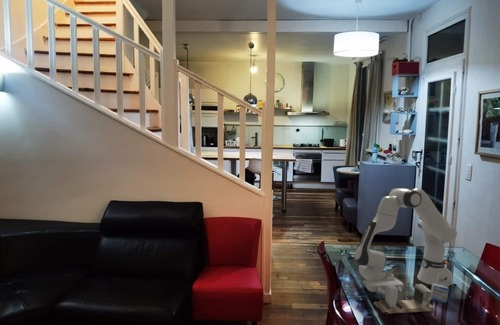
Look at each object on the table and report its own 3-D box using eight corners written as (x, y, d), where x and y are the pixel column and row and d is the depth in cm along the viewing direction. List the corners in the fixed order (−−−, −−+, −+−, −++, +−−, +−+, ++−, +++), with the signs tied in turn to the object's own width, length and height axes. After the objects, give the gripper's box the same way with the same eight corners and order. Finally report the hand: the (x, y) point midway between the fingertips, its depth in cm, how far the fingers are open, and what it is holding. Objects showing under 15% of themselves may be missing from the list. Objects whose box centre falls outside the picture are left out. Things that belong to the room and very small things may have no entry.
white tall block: (391, 302, 192) (394, 285, 191) (396, 307, 188) (399, 289, 187) (384, 303, 191) (387, 285, 190) (388, 307, 188) (391, 289, 186)
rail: (423, 302, 199) (426, 283, 197) (433, 310, 192) (436, 291, 190) (373, 305, 193) (376, 285, 191) (382, 313, 185) (385, 293, 183)
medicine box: (430, 300, 203) (433, 285, 202) (429, 296, 207) (432, 282, 206) (446, 303, 200) (449, 289, 199) (445, 299, 204) (447, 285, 203)
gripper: (361, 275, 199) (375, 288, 186) (395, 274, 204) (411, 286, 190) (360, 286, 200) (374, 299, 187) (393, 284, 205) (409, 297, 191)
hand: (393, 293), depth 188 cm, fingers open, 8 cm apart
